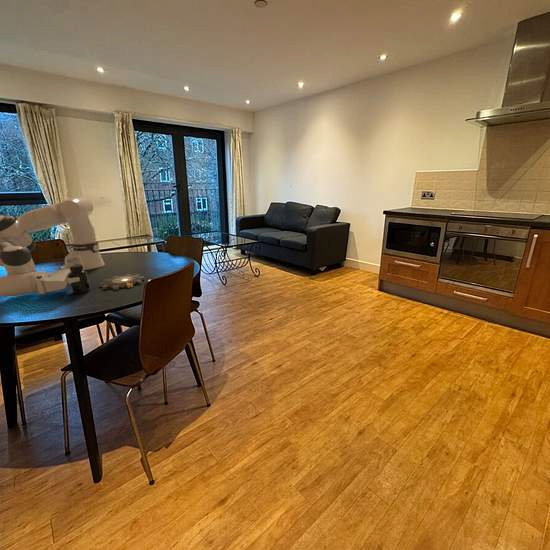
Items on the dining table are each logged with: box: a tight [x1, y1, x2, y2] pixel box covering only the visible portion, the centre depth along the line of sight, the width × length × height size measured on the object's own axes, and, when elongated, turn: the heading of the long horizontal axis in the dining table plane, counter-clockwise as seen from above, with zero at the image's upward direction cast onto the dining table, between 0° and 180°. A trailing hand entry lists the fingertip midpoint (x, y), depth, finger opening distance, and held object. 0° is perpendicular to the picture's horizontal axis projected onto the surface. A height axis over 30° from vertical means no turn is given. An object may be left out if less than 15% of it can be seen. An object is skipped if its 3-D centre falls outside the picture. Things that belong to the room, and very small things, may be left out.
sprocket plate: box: [99, 273, 145, 291], centre depth 143 cm, size 19×19×2 cm
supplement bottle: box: [69, 264, 91, 294], centre depth 132 cm, size 7×7×12 cm
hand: (80, 276), depth 132 cm, fingers closed on supplement bottle, 7 cm apart
